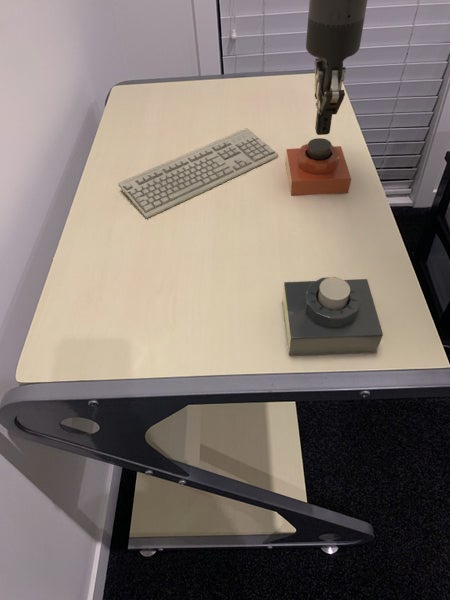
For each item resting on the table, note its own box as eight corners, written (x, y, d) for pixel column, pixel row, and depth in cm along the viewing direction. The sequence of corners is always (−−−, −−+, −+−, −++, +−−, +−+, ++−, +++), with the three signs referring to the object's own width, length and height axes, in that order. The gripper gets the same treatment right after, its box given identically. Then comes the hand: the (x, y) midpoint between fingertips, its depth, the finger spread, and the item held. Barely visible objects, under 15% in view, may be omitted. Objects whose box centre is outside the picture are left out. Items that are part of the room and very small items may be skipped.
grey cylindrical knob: (344, 287, 54) (347, 276, 52) (350, 310, 52) (353, 299, 50) (315, 288, 54) (317, 277, 53) (320, 311, 52) (322, 300, 50)
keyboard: (146, 219, 73) (144, 210, 72) (119, 190, 79) (117, 181, 77) (278, 157, 83) (279, 147, 81) (246, 135, 88) (246, 126, 87)
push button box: (361, 297, 60) (370, 268, 55) (376, 352, 54) (387, 324, 50) (282, 300, 60) (284, 271, 56) (288, 355, 55) (291, 328, 50)
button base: (338, 160, 81) (342, 135, 77) (348, 193, 75) (353, 168, 71) (285, 163, 81) (286, 138, 77) (290, 195, 75) (292, 171, 71)
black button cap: (328, 148, 76) (329, 137, 74) (331, 161, 73) (333, 150, 72) (305, 149, 76) (306, 138, 74) (308, 162, 73) (309, 151, 72)
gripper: (375, 28, 53) (352, 153, 67) (355, -6, 62) (338, 111, 75) (315, 32, 54) (304, 155, 67) (303, -2, 62) (295, 114, 76)
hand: (322, 132), depth 71 cm, fingers closed
